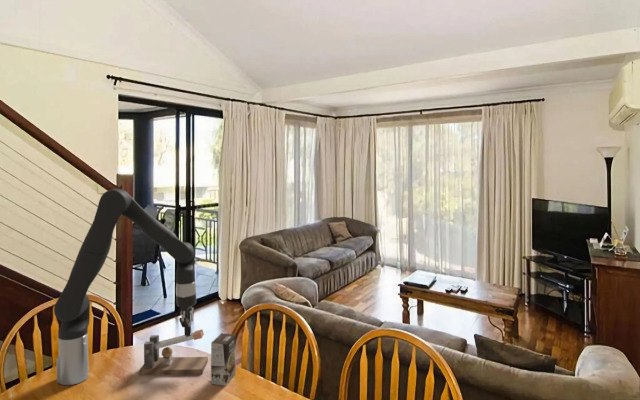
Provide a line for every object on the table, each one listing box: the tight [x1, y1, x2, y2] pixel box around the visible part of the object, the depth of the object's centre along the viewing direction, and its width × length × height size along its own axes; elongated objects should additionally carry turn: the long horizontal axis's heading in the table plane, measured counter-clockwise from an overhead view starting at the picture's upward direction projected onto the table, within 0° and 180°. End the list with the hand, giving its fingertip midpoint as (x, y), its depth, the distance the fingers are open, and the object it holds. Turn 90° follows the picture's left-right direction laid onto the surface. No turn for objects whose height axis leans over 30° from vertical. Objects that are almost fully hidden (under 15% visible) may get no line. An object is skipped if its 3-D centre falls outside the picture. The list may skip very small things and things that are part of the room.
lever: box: [154, 328, 205, 349], centre depth 152 cm, size 22×4×2 cm, turn 93°
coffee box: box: [210, 332, 237, 387], centre depth 145 cm, size 9×6×16 cm
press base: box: [138, 334, 209, 376], centre depth 152 cm, size 24×10×12 cm, turn 94°
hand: (188, 335), depth 152 cm, fingers closed
